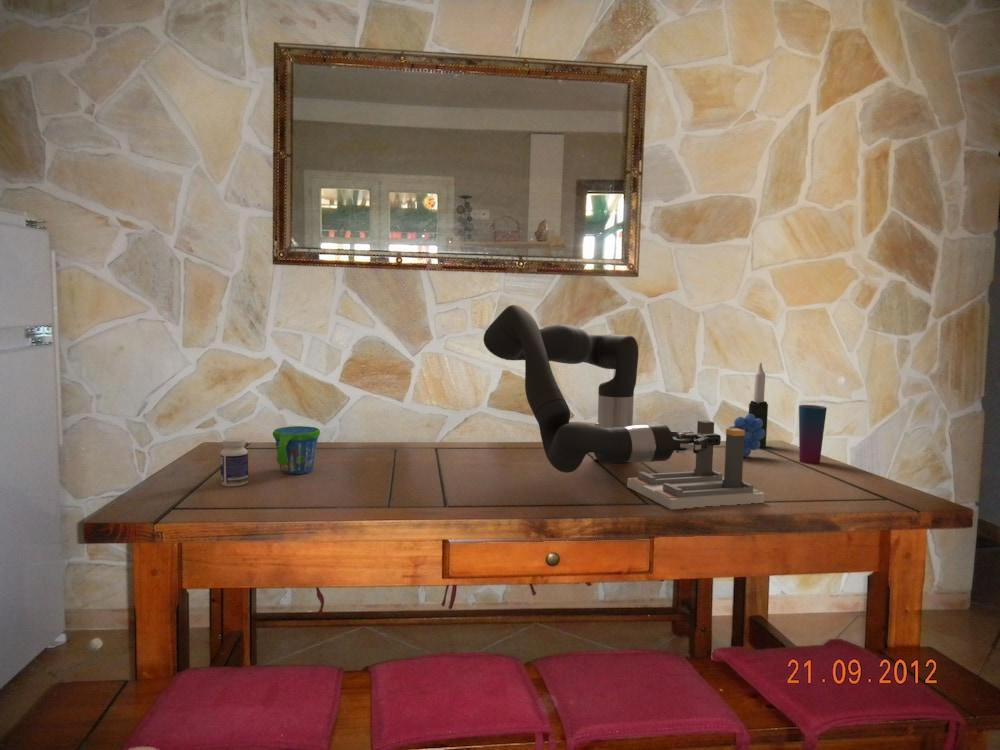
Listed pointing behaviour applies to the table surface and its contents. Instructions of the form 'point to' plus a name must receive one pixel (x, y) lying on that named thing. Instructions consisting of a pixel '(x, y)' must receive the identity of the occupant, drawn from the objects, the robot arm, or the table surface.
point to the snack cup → (296, 448)
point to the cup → (811, 432)
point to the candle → (760, 402)
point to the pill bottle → (234, 462)
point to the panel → (694, 484)
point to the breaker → (734, 458)
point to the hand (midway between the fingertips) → (718, 439)
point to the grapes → (750, 432)
